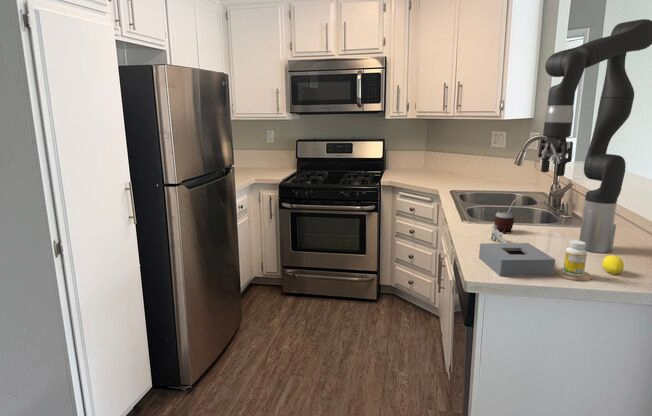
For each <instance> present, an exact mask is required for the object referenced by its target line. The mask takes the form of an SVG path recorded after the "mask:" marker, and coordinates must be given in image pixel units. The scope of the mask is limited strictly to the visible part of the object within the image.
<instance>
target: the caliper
mask: <svg viewBox="0 0 652 416" xmlns="http://www.w3.org/2000/svg"><path fill="white" fill-rule="evenodd" d="M490 240H491V241H492V242H497V241H498V242H499V243H509V242H508V241H507V240H506V239H505V238H504V237H503V233H502V232H499V231H498V230H497V226H496V225H495V224H493V226H492V227H491V231H490Z"/></svg>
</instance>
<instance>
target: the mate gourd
mask: <svg viewBox="0 0 652 416" xmlns="http://www.w3.org/2000/svg"><path fill="white" fill-rule="evenodd" d="M520 199H521V197H518V198H515V199H514V200H513V201H512V202H511V205H510V207H509V209H508V211H507V210H504V211H503V210H501V211H500V210H499V211H497V212H496V214H495V216H494V225H496V226H497V230H498V231H499V232H500V233H501V234H502V235H506V232H509V234H510V233H512V228H513V226H514V222H515V216H514V214H513V212H511V210H512V207H513V206H514V205H515V203H516V202H517V201H518V200H520Z"/></svg>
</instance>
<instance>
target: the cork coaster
mask: <svg viewBox="0 0 652 416" xmlns="http://www.w3.org/2000/svg"><path fill="white" fill-rule="evenodd" d="M563 269H564V267H561V268H558V269H556V270H555V274H556V275H557V276H559V277H560V278H562V279H565V280H568V281H573V282H574V281H575V282H588V281H590V279H591V280H592V274H590V273H588V272H586V270H584V275H582V276H571V275H568V274H566V273H565V272H564V271H563Z"/></svg>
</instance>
